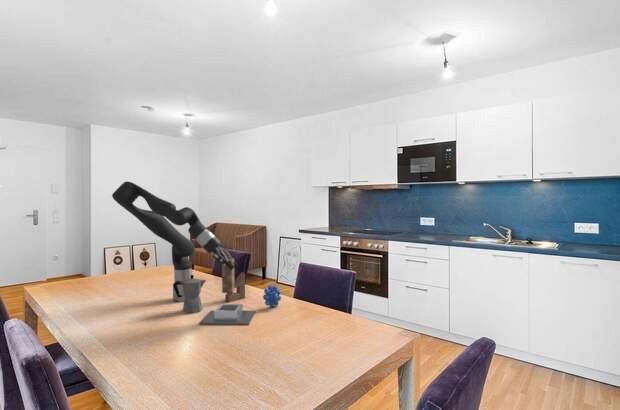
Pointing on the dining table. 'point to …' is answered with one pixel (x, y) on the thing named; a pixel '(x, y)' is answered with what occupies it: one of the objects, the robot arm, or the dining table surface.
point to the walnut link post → (228, 278)
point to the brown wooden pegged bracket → (237, 289)
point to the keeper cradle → (228, 316)
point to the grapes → (272, 296)
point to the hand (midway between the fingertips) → (234, 267)
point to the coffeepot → (190, 294)
